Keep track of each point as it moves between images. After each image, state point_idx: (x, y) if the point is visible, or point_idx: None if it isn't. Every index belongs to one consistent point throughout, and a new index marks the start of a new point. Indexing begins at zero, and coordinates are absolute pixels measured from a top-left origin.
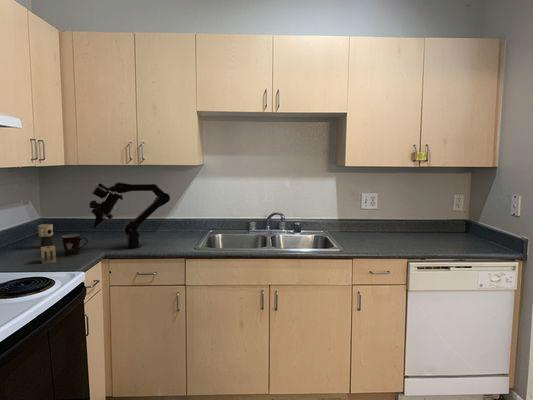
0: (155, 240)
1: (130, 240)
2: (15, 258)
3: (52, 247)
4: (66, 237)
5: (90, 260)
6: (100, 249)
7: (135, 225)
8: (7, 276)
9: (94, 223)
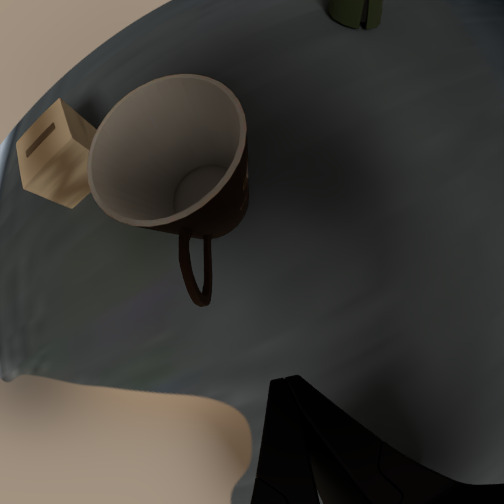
0: None
1: None
2: (158, 24)
3: (36, 162)
4: (92, 150)
5: (89, 377)
6: (349, 331)
7: None
8: None
9: (263, 438)
